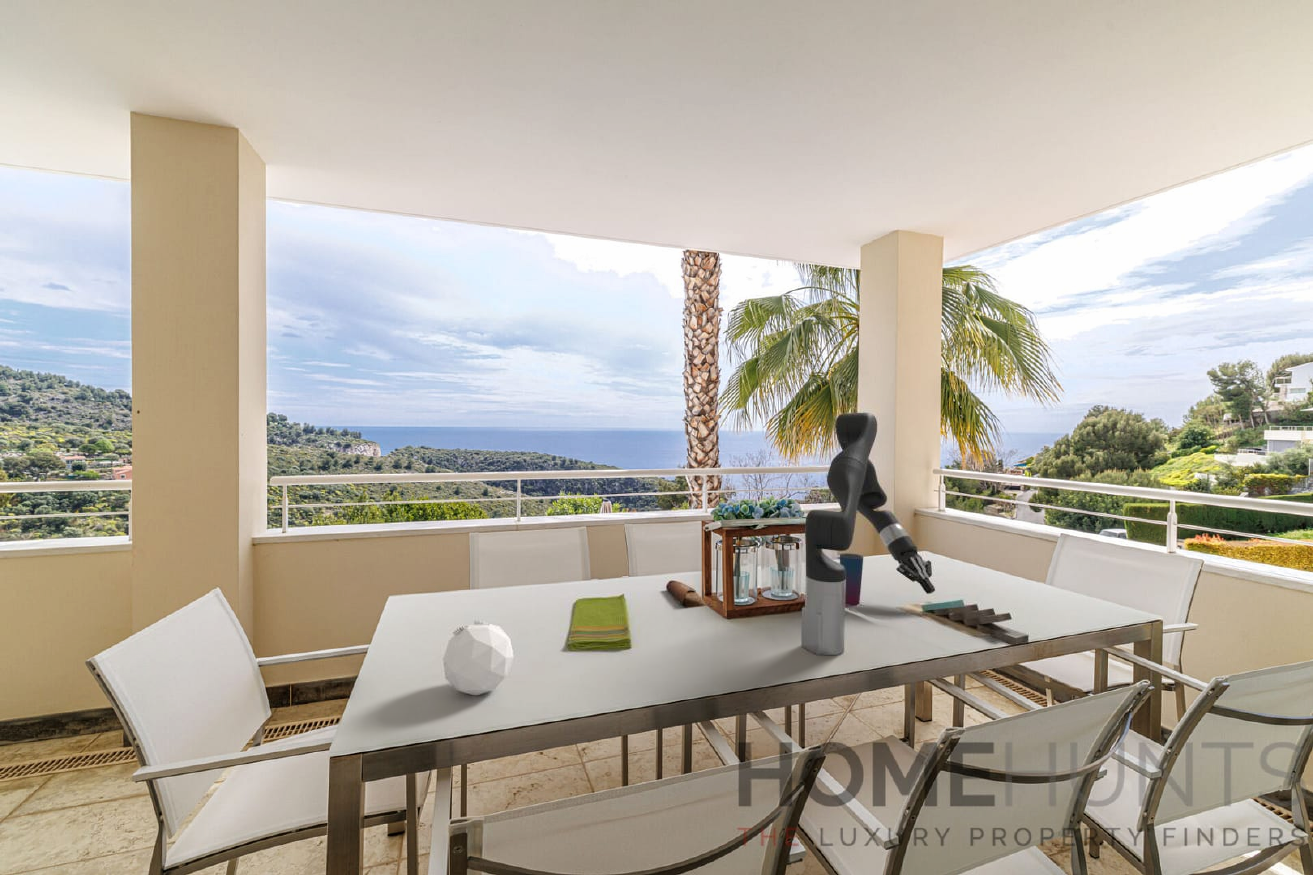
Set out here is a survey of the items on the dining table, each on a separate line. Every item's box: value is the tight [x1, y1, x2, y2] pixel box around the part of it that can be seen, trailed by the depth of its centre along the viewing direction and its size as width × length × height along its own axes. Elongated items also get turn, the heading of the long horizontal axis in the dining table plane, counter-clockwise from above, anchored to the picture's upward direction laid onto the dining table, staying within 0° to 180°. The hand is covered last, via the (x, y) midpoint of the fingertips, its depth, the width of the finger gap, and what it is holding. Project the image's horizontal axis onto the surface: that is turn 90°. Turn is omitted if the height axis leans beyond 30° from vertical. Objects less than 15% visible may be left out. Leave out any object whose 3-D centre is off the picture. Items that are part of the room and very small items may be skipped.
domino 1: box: [921, 599, 965, 611], centre depth 156 cm, size 5×2×10 cm
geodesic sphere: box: [442, 620, 515, 696], centre depth 109 cm, size 14×14×14 cm
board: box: [895, 601, 989, 638], centre depth 153 cm, size 14×25×1 cm, turn 25°
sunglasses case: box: [665, 580, 708, 609], centre depth 171 cm, size 18×7×7 cm, turn 15°
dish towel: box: [566, 593, 632, 651], centre depth 148 cm, size 15×36×3 cm, turn 5°
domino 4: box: [963, 612, 1012, 626], centre depth 144 cm, size 5×2×10 cm
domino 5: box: [977, 622, 1030, 645], centre depth 140 cm, size 5×2×10 cm
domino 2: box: [934, 603, 980, 616], centre depth 152 cm, size 5×2×10 cm
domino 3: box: [949, 608, 996, 621], centre depth 148 cm, size 5×2×10 cm
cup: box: [839, 553, 864, 608], centre depth 166 cm, size 7×7×15 cm
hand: (931, 592), depth 159 cm, fingers closed
